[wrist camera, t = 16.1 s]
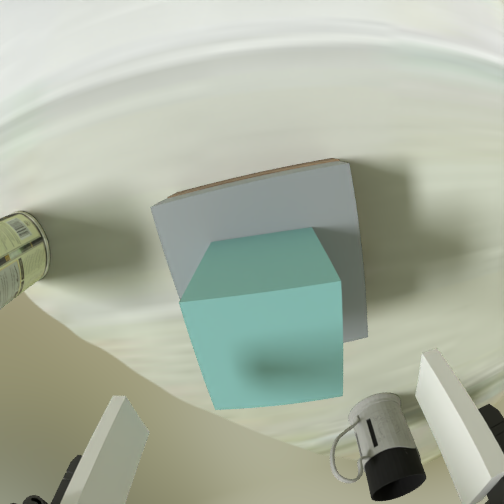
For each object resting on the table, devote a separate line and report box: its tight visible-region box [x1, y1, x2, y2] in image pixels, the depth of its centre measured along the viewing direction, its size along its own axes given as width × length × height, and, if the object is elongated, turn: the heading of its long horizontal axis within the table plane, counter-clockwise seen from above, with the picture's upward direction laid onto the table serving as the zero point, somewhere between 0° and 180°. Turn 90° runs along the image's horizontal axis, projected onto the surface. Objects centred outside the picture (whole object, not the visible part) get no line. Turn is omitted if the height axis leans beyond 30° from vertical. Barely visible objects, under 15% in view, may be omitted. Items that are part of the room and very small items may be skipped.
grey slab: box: [150, 161, 368, 343], centre depth 27 cm, size 16×16×4 cm
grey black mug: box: [330, 393, 426, 501], centre depth 33 cm, size 9×14×15 cm, turn 70°
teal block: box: [179, 227, 343, 410], centre depth 21 cm, size 8×8×10 cm
